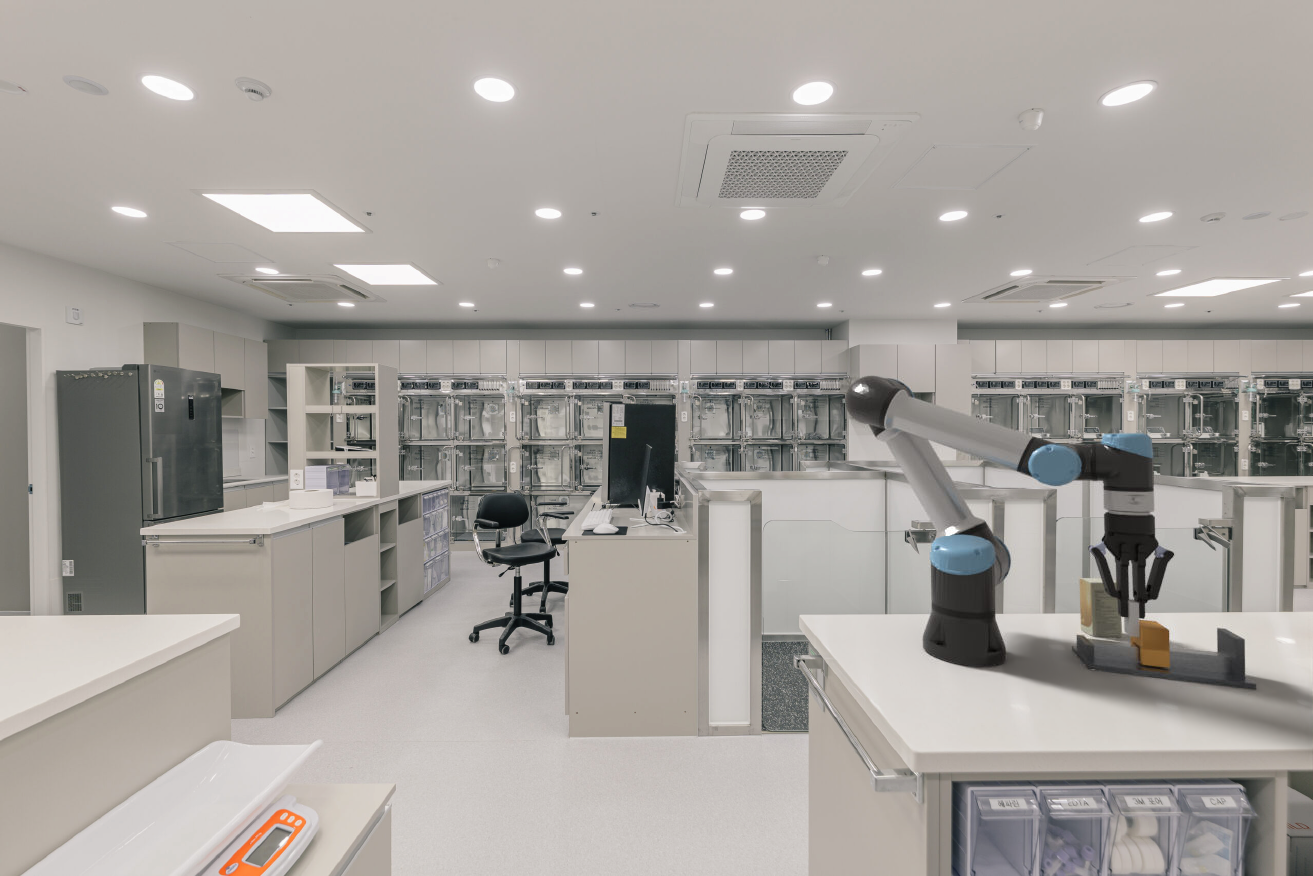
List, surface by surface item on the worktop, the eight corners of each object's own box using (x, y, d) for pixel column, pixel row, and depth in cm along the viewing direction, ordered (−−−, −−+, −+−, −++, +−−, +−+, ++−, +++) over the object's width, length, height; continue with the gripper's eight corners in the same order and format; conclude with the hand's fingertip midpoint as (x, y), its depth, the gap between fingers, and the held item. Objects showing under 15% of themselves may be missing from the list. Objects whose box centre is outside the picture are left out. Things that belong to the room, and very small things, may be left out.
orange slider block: (1142, 664, 104) (1142, 627, 104) (1130, 654, 109) (1130, 619, 109) (1169, 667, 103) (1169, 630, 103) (1156, 657, 108) (1156, 621, 108)
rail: (1088, 669, 106) (1087, 627, 106) (1071, 650, 115) (1071, 612, 115) (1256, 689, 97) (1255, 643, 97) (1223, 667, 106) (1222, 625, 106)
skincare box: (1108, 630, 126) (1108, 577, 126) (1123, 637, 122) (1122, 582, 122) (1078, 630, 127) (1078, 577, 127) (1091, 636, 123) (1091, 581, 123)
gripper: (1094, 513, 106) (1097, 636, 106) (1181, 516, 101) (1185, 645, 101) (1081, 509, 113) (1084, 624, 113) (1162, 511, 108) (1165, 631, 108)
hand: (1132, 634), depth 107 cm, fingers closed
